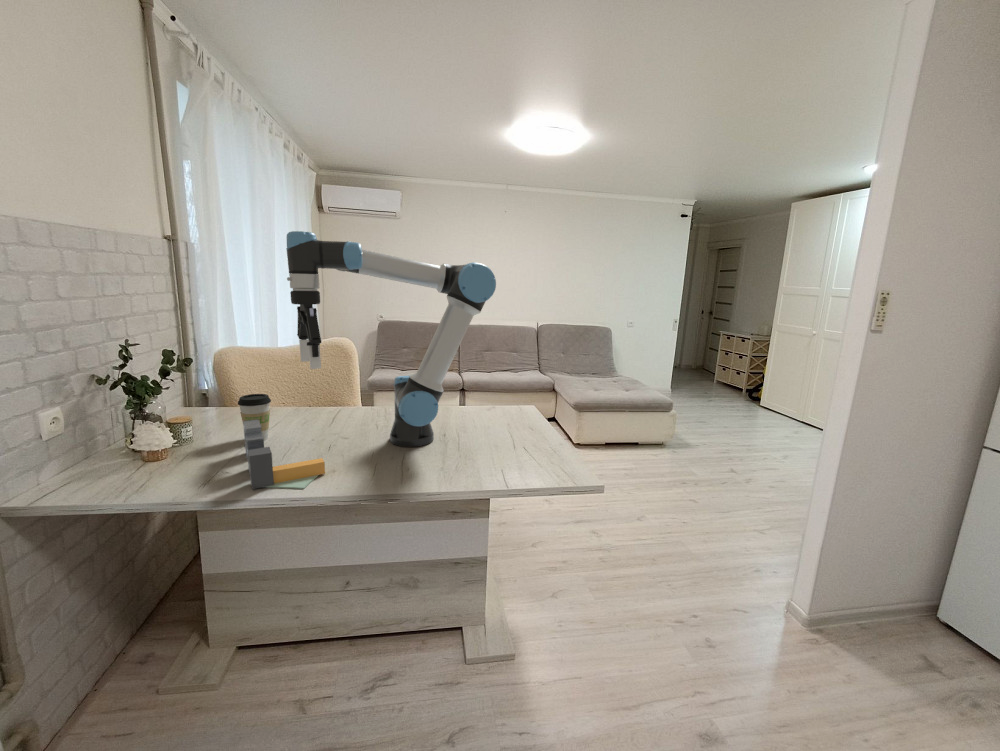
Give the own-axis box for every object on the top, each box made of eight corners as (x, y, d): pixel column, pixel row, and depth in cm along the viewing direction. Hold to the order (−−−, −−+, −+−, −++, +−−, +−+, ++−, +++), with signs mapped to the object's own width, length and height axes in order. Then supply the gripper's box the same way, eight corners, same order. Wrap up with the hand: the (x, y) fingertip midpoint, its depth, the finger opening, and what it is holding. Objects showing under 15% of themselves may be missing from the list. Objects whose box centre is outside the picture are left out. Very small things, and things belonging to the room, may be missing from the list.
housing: (260, 450, 137) (257, 414, 135) (266, 473, 121) (263, 433, 118) (245, 452, 135) (242, 416, 133) (249, 476, 119) (246, 435, 116)
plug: (321, 468, 125) (320, 438, 123) (325, 474, 120) (324, 444, 119) (250, 481, 115) (247, 449, 113) (252, 489, 111) (249, 456, 109)
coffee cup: (259, 445, 142) (255, 401, 139) (233, 442, 143) (229, 399, 140) (280, 435, 151) (277, 394, 148) (255, 433, 153) (252, 392, 150)
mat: (320, 473, 122) (320, 471, 122) (303, 489, 112) (303, 487, 112) (275, 471, 123) (275, 469, 123) (255, 486, 113) (255, 485, 113)
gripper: (283, 289, 128) (289, 359, 132) (298, 290, 108) (305, 373, 112) (310, 289, 132) (315, 357, 136) (329, 290, 112) (334, 370, 116)
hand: (310, 364), depth 124 cm, fingers open, 13 cm apart
